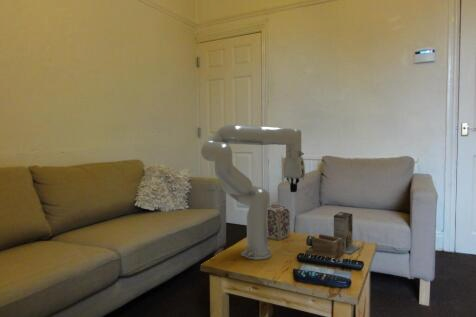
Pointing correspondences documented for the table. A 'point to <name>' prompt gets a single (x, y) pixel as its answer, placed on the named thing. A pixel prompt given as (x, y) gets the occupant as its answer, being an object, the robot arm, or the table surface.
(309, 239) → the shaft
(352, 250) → the spacer mat
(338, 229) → the coffee box
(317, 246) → the brown open box
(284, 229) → the decorative jar
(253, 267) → the table surface
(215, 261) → the table surface
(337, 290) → the table surface
